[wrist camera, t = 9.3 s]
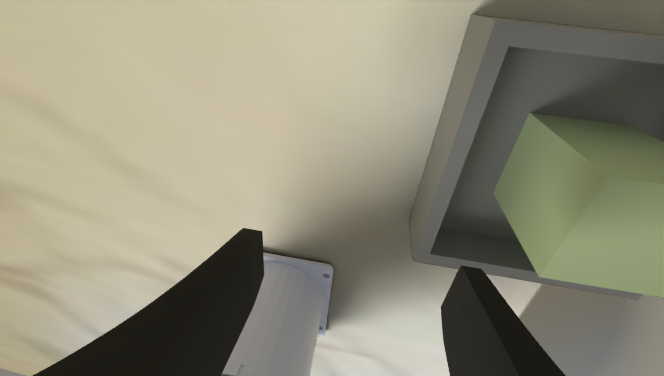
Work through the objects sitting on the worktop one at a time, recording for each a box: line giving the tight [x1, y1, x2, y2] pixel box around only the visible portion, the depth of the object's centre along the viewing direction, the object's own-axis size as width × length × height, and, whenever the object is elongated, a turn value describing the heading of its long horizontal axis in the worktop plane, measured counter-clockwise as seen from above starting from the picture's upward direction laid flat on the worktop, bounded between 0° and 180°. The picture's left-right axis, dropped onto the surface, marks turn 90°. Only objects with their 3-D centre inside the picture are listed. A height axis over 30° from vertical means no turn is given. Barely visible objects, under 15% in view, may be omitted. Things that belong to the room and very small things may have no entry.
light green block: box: [493, 113, 664, 298], centre depth 13 cm, size 5×5×6 cm
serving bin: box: [409, 15, 664, 300], centre depth 15 cm, size 12×12×4 cm
